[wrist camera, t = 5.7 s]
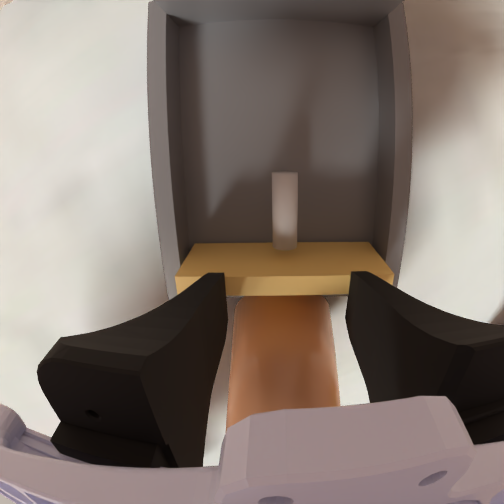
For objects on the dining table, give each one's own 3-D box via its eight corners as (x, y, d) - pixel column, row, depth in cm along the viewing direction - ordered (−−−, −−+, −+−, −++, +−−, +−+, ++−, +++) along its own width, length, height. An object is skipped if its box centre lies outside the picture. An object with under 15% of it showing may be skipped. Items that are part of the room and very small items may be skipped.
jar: (323, 336, 18) (333, 477, 12) (239, 337, 18) (231, 480, 12) (335, 283, 14) (357, 469, 8) (228, 285, 15) (212, 473, 9)
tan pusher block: (366, 257, 15) (391, 292, 11) (196, 258, 15) (177, 294, 12) (373, 169, 13) (404, 183, 10) (188, 170, 14) (164, 184, 10)
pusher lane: (376, 279, 16) (415, 343, 11) (183, 282, 17) (150, 348, 12) (382, 20, 11) (433, -23, 6) (167, 20, 12) (119, -25, 6)
